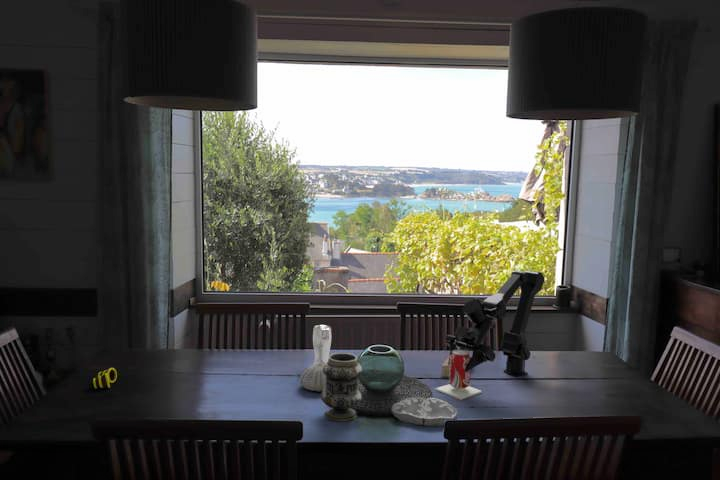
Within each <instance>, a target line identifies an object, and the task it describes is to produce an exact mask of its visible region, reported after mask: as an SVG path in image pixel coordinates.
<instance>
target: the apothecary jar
mask: <svg viewBox="0 0 720 480" xmlns="http://www.w3.org/2000/svg"><path fill="white" fill-rule="evenodd" d="M323 373H324V374H325V375H326V389H324V391H321V395H320V397H321V401H322V402H323V403H324V404H325V405H326V406H327V407H329V409H327V410H325V411H324V417H325V418H326V419H328V420H330V421H335V422H348V421H352V420H354V419H356V418H357V417H358V416H357V414H358V412H357V411H356V410H355V409H353V408H354V407H356V406H358V405H359V404H360V403H361V401H362V399H363V398H362V394H361V392H360V390H359V389H358V386H359V384H358V383H359V377H360V376H362V373H363V368H362V365H361V363H360V362H358V358H357V356H356V354H355V355H354V354H353V353H348V352H335V353H331V354H329V359H328V362H327V363H325V365H324V366H323Z"/></svg>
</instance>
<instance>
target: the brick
mask: <svg viewBox="0 0 720 480" xmlns="http://www.w3.org/2000/svg"><path fill="white" fill-rule="evenodd" d="M449 356H450V354H449V355H448V357H447V358H446V359H445V360H444V362H443V363H442V364H441V377H445V378H446V377H447V378H449V365H448V362H449ZM470 357H472V355H470Z"/></svg>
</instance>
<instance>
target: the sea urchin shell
mask: <svg viewBox="0 0 720 480" xmlns="http://www.w3.org/2000/svg"><path fill="white" fill-rule="evenodd" d="M324 365H325V364H318V363H317V364H314V363H313V364H312V365H310V366H308V367H307V368H305V370H303V372H302V373H301V375H300V378H299V383H300V385H301V386H302V388H304V389H306V390H309V391H313V392H314V391H315V392H323V391H324V389H326V375H325V374H324V373H323V366H324Z"/></svg>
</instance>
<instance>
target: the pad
mask: <svg viewBox="0 0 720 480" xmlns="http://www.w3.org/2000/svg"><path fill="white" fill-rule="evenodd" d="M434 390H435V391H437V392H440V393H442V394H445V395H446V396H447V395H448V396H450V397H452V398H455V399H458V400H460V401H461V400H464V399H467V398H470V397H472V396H476V395H479V394H482V393H483V391H482V390H480V389H478V388H475V387H472V386H470V385H469V386H468V387H467V388H465V389H456V388H453V387H452V386H451V385H450V384H449V383H448V384H444V385H442V386H437V387H436V388H435V389H434Z"/></svg>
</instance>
